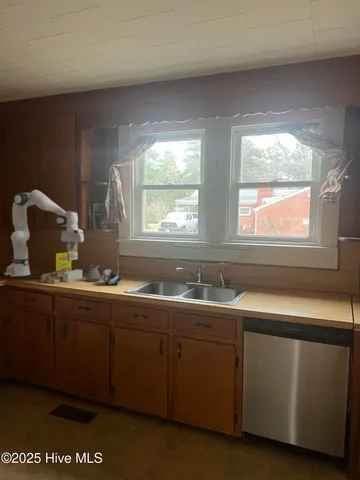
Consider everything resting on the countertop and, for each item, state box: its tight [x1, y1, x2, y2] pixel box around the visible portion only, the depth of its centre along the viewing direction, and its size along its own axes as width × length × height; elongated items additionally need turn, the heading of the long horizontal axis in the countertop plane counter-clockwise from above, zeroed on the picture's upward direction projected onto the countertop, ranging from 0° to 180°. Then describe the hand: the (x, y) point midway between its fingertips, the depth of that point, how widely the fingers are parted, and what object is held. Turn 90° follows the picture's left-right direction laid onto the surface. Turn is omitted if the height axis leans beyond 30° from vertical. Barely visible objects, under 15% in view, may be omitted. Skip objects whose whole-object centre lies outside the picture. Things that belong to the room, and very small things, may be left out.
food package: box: [55, 251, 72, 273], centre depth 302 cm, size 15×1×20 cm, turn 143°
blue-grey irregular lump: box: [100, 268, 122, 287], centre depth 273 cm, size 15×12×14 cm
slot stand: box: [62, 269, 83, 283], centre depth 286 cm, size 5×18×7 cm, turn 159°
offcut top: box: [52, 270, 62, 278], centre depth 280 cm, size 5×10×4 cm, turn 0°
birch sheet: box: [66, 242, 79, 262], centre depth 285 cm, size 2×11×14 cm, turn 159°
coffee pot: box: [86, 260, 107, 283], centre depth 288 cm, size 21×12×15 cm, turn 152°
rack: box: [40, 270, 63, 284], centre depth 282 cm, size 13×18×6 cm
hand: (72, 247), depth 284 cm, fingers closed on birch sheet, 2 cm apart
